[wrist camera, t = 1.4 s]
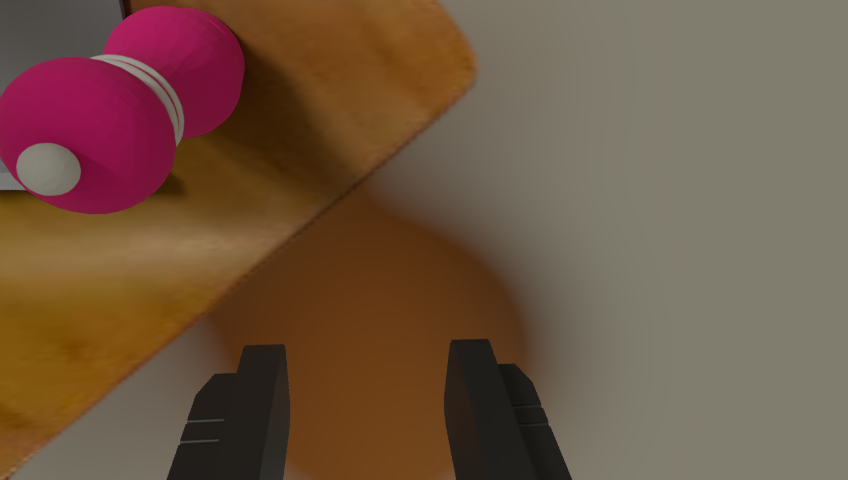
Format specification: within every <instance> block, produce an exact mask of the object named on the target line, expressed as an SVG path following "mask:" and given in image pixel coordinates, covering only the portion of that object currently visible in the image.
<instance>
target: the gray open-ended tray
mask: <svg viewBox="0 0 848 480" xmlns="http://www.w3.org/2000/svg"><path fill="white" fill-rule="evenodd" d="M124 19H126V15H125V10H124V5H123V0H0V97H1V95H2V94H3V92H4V90H5V88H6V87H7V86H8V85H9V84H10V83H11V82H12V81H13V80H14V79H15V78H16V77H17V76H19V75H20V74H22V73H23V72H24V71H26V70H28V69H29V68H31V67H33V66H35V65H36V64H38V63H41V62H45V61H49V60H53V59H57V58H65V57H76V56H79V57H85V58H91V57H95V56H100V55H103V52H104V48H105V45H106V43H107V40H108V38H109V36H110V34H111V33H112V31H113V30H114V28H115V27H116V26H117V25H118V24H119V23H121V22H122V21H123V20H124ZM0 190H26V189H25V188H24V187H23V186H22V185H21V184H20V183H19V182H18V181H17V180H15V179H14V177H13V176H12V175H11V173H10V172H9V170H8V169H7V167H6V166H5V165H4V163H3V161H2V160H1V157H0Z"/></svg>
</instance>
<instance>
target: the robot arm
mask: <svg viewBox="0 0 848 480" xmlns="http://www.w3.org/2000/svg"><path fill="white" fill-rule="evenodd" d="M444 415H445V423H446V429H447V435H448V440H449V445H450V450H451V456H452V461H453V466H454V471H455V476H456V480H572V478H571V476H570V473H569V471H568V468H567V466H566V463H565V461H564V459H563V456H562V454H561V452H560V449H559V446H558V444H557V442H556V439H555V437H554V434H553V432H552V429H551V427H550V426H549V425H548V419H547V417H546V414H545V412H544V410H543V408H541V402H540V400H539V397H538V395H537V392H536V390H535V387H534V385H533V383H532V381H531V380H530V379H529V378H528V377H527V376H526V375H525V374H524V373H523V372H522V371H521V370H520V369H519V368H518V367H517V366H516V365H515V364H497V361H496V358H495V356H494V353H493V350H492V347H491V344H490V342H489V340H488V339H463V340H462V339H461V340H451V342H450V347H449V356H448V365H447V374H446V383H445V393H444ZM289 428H290V394H289V382H288V371H287V359H286V349H285V345H284V344H273V345H246V346H244V348H243V351H242V355H241V358H240V362H239V366H238V370H237V373H224V374H214V375H213V376H212V378H211V379H210V380H209V381H208V382H207V383H206V384H205V385H204V386H203V388H202V389H201V390H200V391H199V392H198V393H197V394H196V396H195V399H194V402H193V405H192V408H191V411H190V413H189V416H188V422H187V424H186V425H185V428H184V431H183V434H182V437H181V440H180V441H181V442H180V445H179V446H178V448H177V451H176V454H175V457H174V460H173V463H172V466H171V468H170V471H169V474H168V477H167V480H283V477H284V469H285V461H286V453H287V446H288V438H289Z"/></svg>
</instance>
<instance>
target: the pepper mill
mask: <svg viewBox="0 0 848 480" xmlns="http://www.w3.org/2000/svg"><path fill="white" fill-rule="evenodd" d="M244 72H245V61H244V55H243V52H242V49H241V47H240V44H239V42H238V40H237V38H236V37H235V35H234V34H233V33H232V32H231V30H230V29H229V28H228V27H227V26H226V25H225V24H224V23H223V22H222V21H220V20H219V19H217V18H216V17H215V16H213V15H211V14H209V13H207V12H204V11H201V10H198V9H193V8H178V7H171V6H154V7H150V8H145V9H142V10H140V11H138V12H136V13H134V14H132V15H130V16H128V17H127V18H126V19H124V20H123V21H122V22H121V23H119V24H118V25H117V26H116V27H115V28H114V30H113V31H112V33H111V34H110V36H109V38H108V40H107V43H106V45H105V48H104V52H103V55H100V56H95V57H91V58H85V57H79V56H76V57H65V58H57V59H53V60H49V61H45V62H41V63H38V64H36V65H35V66H33V67H31V68H29V69H28V70H26V71H24V72H23V73H22V74H20V75H19V76H17V77H16V78H15V79H14V80H13V81H12V82H11V83H10V84H9V85H8V86H7V87H6V88H5V90H4V92H3V94H2V95H1V97H0V157H1V160H2V161H3V163H4V165H5V166H6V167H7V169H8V170H9V172H10V173H11V175H12V176H13V177H14V179H15V180H17V181H18V182H19V183H20V184H21V185H22V186H23V187H24V188H25V189H26V190H27V191H29V192H30V193H32V194H33V195H35V196H36V197H38V198H39V199H41V200H43V201H45V202H47V203H49V204H52V205H54V206H56V207H58V208H61V209H65V210H69V211H73V212H79V213H86V214H108V213H113V212H118V211H121V210H125V209H128V208H130V207H132V206H135V205H137V204H138V203H140V202H142V201H144V200H145V199H146V198H148V197H149V196H150V195H151V194H153V193H154V192H155V191H157V190H158V188H159V187H160V186H161V185H162V184H163V183H164V181H165V180H166V178H167V176H168V175H169V173H170V171H171V169H172V167H173V162H174V156H175V151H176V147H177V146H178V144H179V142H180V140H181V138H191V137H196V136H201V135H203V134H206V133H208V132H211V131H212V130H214V129H215V128H217V127H218V126H219V125H221V124H222V123H223V122H224V121H225V120H226V119H227V118H228V117H229V116H230V115H231V113H232V112H233V110H234V109H235V108H236V105H237V103H238V101H239V98H240V93H241V87H242V82H243V78H244Z"/></svg>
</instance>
